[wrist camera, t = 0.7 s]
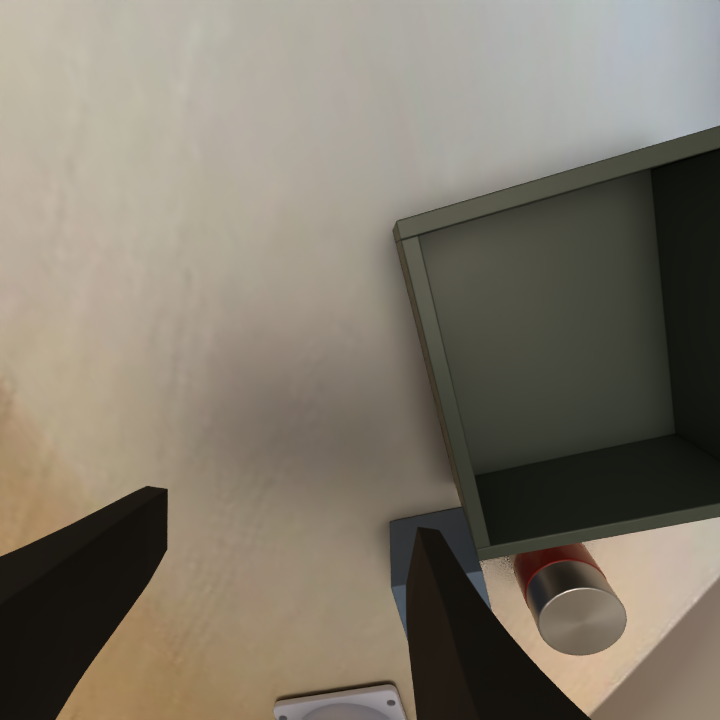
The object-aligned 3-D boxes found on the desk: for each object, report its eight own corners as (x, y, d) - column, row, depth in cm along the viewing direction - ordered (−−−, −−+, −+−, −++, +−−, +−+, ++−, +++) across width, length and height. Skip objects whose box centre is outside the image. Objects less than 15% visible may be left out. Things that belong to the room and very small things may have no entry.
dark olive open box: (682, 437, 20) (790, 504, 15) (455, 484, 21) (478, 562, 16) (656, 152, 17) (782, 106, 11) (392, 229, 18) (395, 221, 13)
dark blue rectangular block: (477, 567, 23) (499, 643, 18) (407, 580, 23) (412, 657, 19) (462, 506, 22) (482, 570, 17) (389, 521, 22) (390, 587, 18)
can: (578, 562, 22) (633, 650, 17) (510, 574, 23) (544, 663, 18) (568, 504, 21) (623, 579, 16) (497, 518, 22) (530, 595, 17)
